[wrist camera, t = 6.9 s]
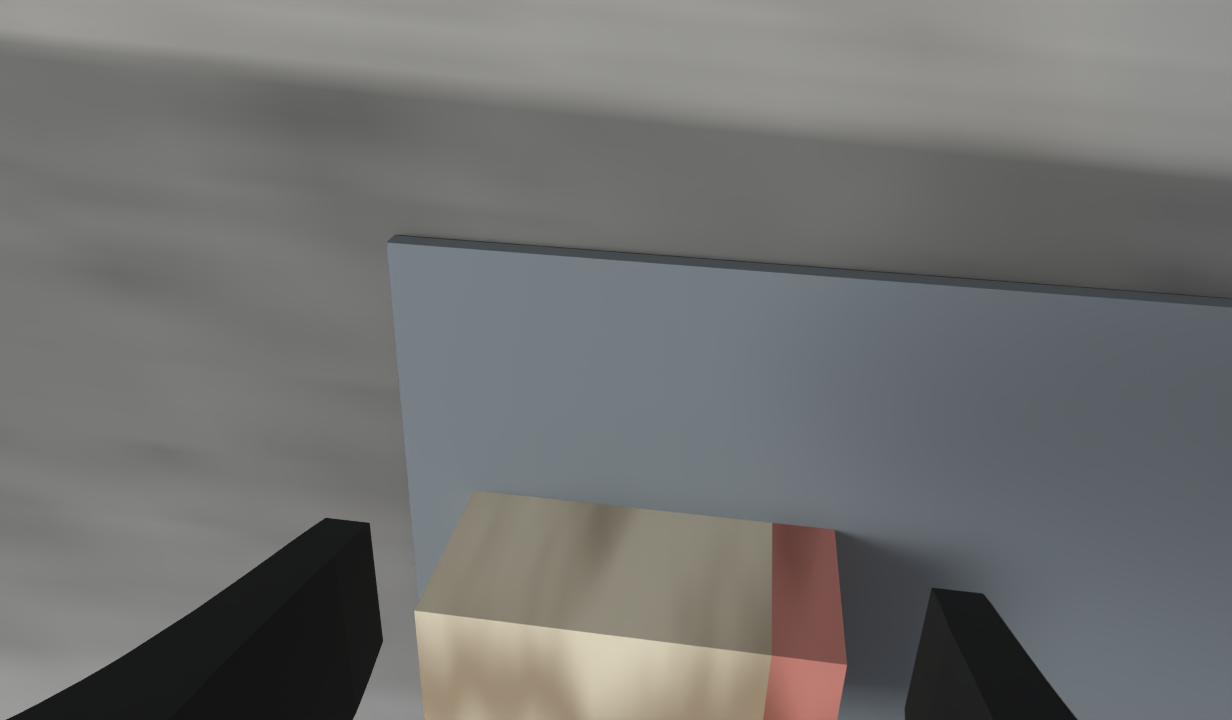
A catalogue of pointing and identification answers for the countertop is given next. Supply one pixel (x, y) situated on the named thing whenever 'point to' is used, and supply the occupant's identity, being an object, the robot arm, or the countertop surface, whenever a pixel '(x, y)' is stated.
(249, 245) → the countertop surface
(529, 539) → the birch block
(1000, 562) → the slate mat
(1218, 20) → the countertop surface
